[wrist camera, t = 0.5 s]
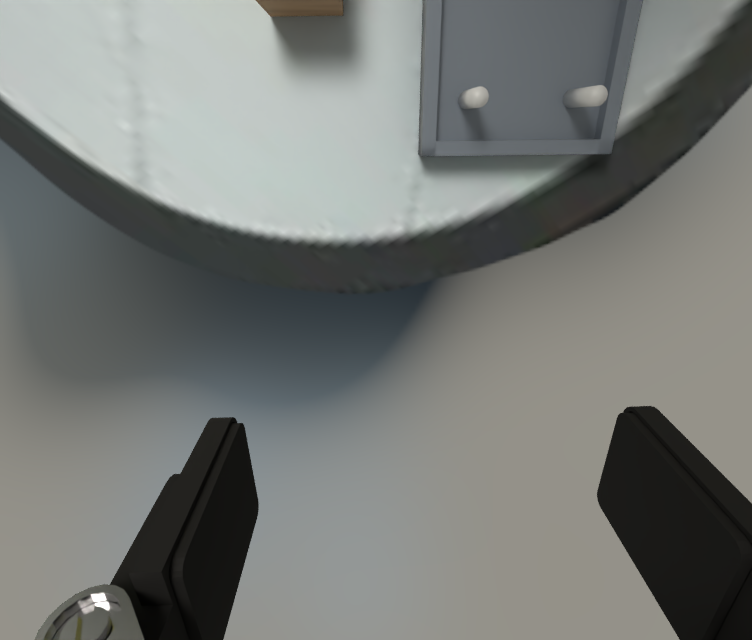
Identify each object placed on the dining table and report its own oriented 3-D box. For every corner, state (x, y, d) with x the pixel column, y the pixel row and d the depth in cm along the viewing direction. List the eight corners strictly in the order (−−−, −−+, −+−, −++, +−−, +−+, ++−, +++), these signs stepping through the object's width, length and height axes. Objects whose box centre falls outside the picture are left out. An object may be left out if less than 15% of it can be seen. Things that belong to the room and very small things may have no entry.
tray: (427, -165, 26) (440, -228, 21) (657, -166, 26) (721, -228, 21) (418, 154, 34) (426, 159, 29) (596, 151, 34) (633, 157, 29)
